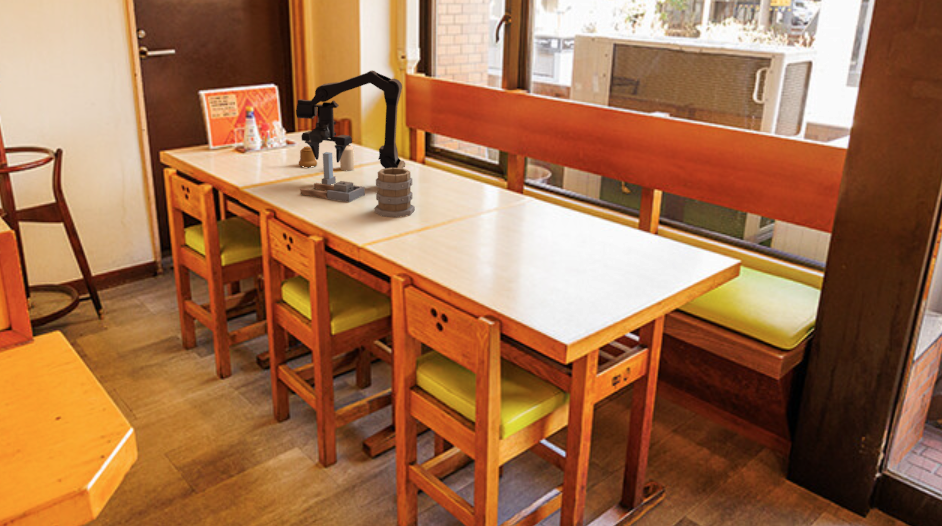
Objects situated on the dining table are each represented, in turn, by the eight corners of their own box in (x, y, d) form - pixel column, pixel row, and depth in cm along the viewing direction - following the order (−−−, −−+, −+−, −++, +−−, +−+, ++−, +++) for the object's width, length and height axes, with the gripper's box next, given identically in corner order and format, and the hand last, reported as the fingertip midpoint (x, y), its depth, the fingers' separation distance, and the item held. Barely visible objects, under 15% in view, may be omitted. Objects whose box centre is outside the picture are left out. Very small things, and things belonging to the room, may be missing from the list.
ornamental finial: (301, 168, 306) (297, 164, 312) (319, 167, 309) (314, 163, 315) (300, 149, 303) (295, 145, 309) (318, 148, 306) (313, 144, 312)
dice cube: (334, 197, 268) (333, 184, 266) (341, 194, 273) (341, 180, 271) (346, 199, 267) (346, 185, 265) (353, 196, 271) (353, 182, 269)
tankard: (407, 218, 247) (407, 174, 242) (370, 215, 250) (369, 171, 244) (423, 202, 266) (423, 160, 260) (388, 199, 268) (388, 158, 263)
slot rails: (341, 191, 275) (341, 186, 275) (326, 198, 267) (326, 193, 266) (316, 187, 279) (316, 182, 279) (300, 194, 271) (300, 189, 270)
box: (364, 194, 272) (364, 186, 271) (349, 202, 263) (349, 193, 262) (343, 191, 275) (342, 183, 274) (327, 198, 266) (327, 190, 265)
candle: (347, 171, 303) (346, 147, 300) (337, 169, 306) (336, 145, 303) (356, 169, 307) (356, 145, 304) (347, 166, 311) (346, 143, 307)
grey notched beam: (335, 182, 287) (334, 151, 282) (327, 186, 282) (326, 154, 278) (330, 182, 288) (328, 151, 283) (321, 185, 283) (320, 154, 278)
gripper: (291, 120, 272) (294, 162, 278) (335, 125, 266) (337, 168, 271) (309, 115, 282) (311, 156, 288) (352, 120, 275) (353, 162, 281)
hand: (327, 160), depth 282 cm, fingers open, 9 cm apart
